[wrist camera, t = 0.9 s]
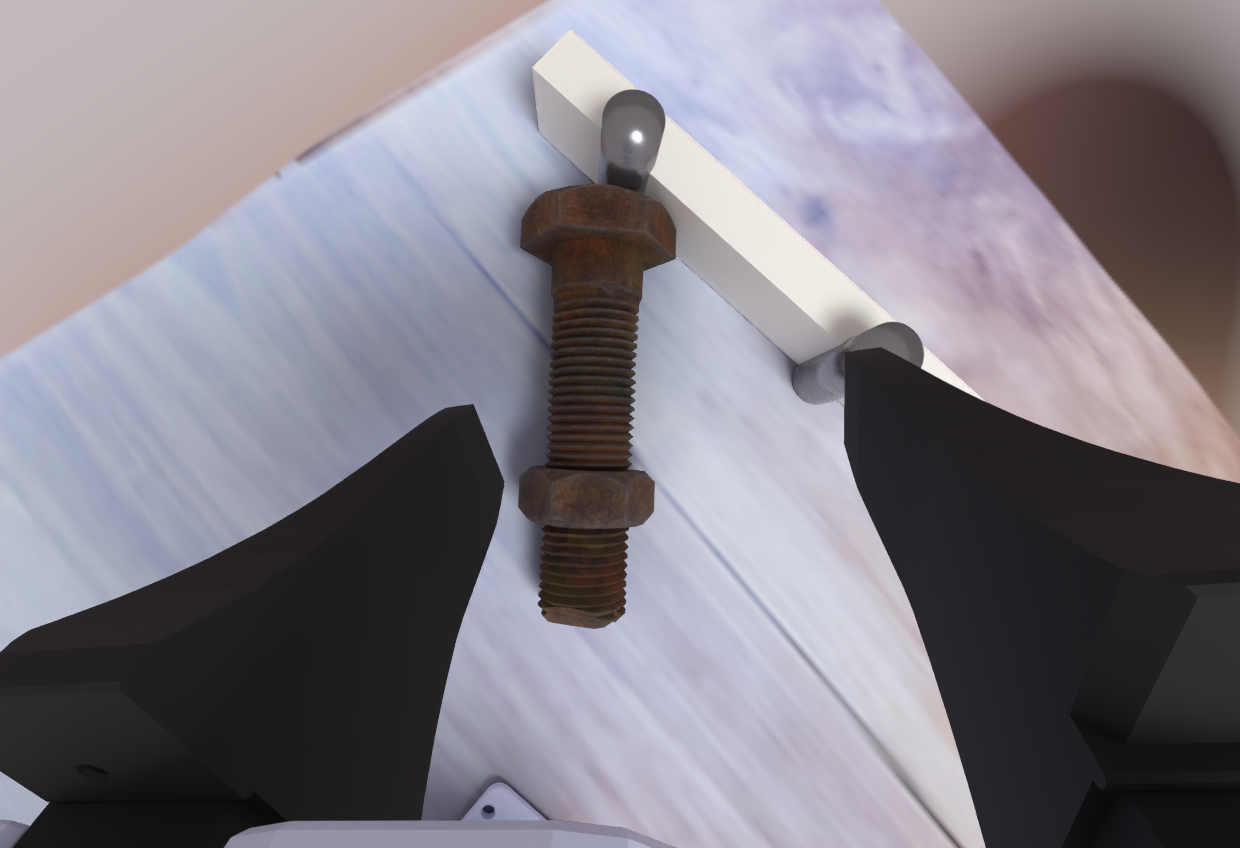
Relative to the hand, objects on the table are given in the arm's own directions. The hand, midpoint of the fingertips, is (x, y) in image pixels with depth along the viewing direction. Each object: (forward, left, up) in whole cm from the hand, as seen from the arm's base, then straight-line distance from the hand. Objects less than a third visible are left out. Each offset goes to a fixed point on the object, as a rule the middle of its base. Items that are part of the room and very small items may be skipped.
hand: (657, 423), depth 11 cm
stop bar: (+9, +1, -12) cm, 15 cm away
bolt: (0, +2, -13) cm, 13 cm away
